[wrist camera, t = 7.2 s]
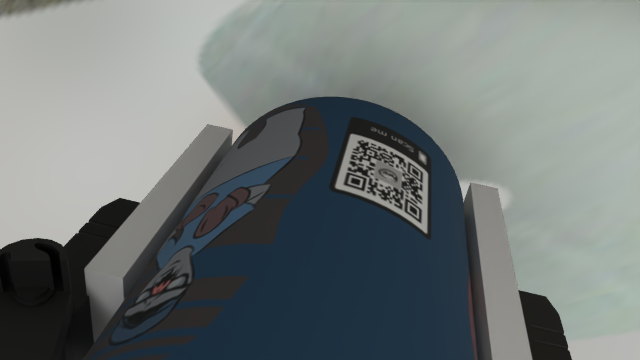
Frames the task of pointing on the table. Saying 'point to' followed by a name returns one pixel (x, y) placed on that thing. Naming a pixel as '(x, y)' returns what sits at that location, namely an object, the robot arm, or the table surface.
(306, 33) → the table surface
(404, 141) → the soda can
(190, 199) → the robot arm
